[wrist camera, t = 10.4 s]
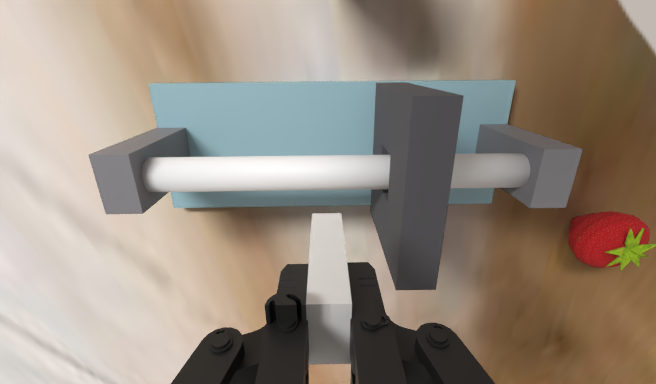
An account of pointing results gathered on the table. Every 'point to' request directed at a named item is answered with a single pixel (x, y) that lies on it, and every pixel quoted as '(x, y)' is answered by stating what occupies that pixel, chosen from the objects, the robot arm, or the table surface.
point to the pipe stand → (316, 148)
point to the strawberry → (609, 239)
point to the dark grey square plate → (414, 178)
